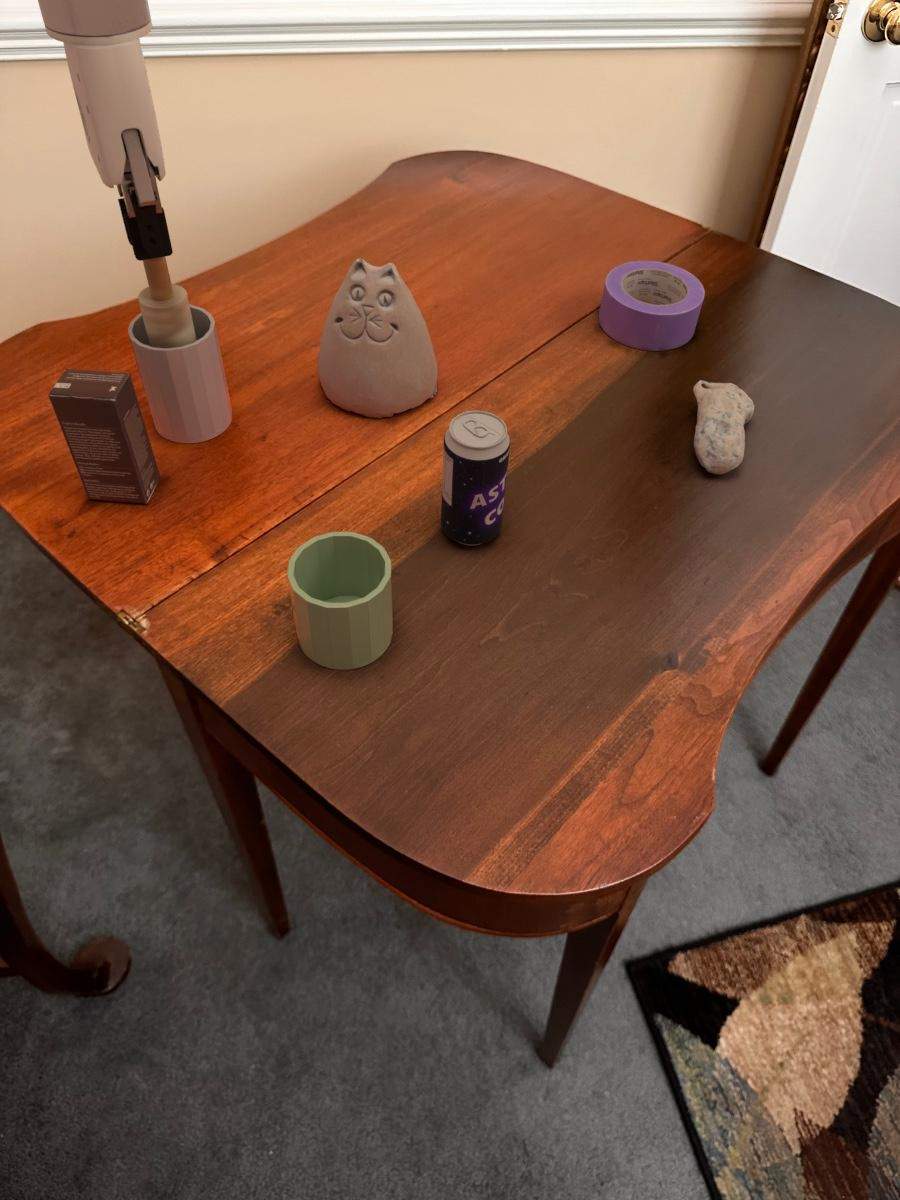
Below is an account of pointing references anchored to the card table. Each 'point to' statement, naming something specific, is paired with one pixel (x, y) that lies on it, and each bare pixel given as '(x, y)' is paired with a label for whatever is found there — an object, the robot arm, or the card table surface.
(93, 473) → the box
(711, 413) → the decorative stone
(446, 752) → the card table surface
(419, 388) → the sculpture
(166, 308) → the bottle brush
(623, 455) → the card table surface
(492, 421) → the beverage can
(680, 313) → the tape roll
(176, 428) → the steel cup
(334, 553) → the brush holder
